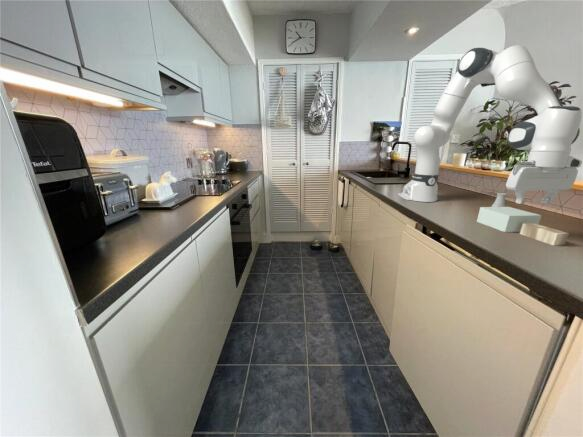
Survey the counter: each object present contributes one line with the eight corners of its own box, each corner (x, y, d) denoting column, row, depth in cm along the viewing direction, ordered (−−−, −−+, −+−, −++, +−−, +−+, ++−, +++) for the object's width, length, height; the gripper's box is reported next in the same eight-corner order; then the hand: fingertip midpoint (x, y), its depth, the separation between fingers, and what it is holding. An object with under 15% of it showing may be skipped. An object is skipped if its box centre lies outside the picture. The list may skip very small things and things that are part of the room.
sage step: (476, 221, 94) (480, 207, 92) (504, 221, 95) (508, 206, 93) (504, 232, 83) (509, 215, 81) (536, 231, 83) (541, 215, 82)
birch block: (519, 234, 81) (553, 246, 72) (522, 223, 80) (557, 233, 71) (529, 233, 82) (564, 245, 72) (532, 223, 81) (569, 233, 71)
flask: (507, 219, 97) (514, 196, 94) (485, 216, 101) (491, 193, 98) (506, 215, 102) (512, 193, 99) (484, 212, 107) (490, 191, 104)
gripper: (526, 161, 71) (513, 205, 75) (587, 161, 72) (571, 205, 77) (506, 160, 77) (495, 201, 81) (563, 160, 78) (549, 200, 83)
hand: (532, 203), depth 79 cm, fingers open, 8 cm apart
